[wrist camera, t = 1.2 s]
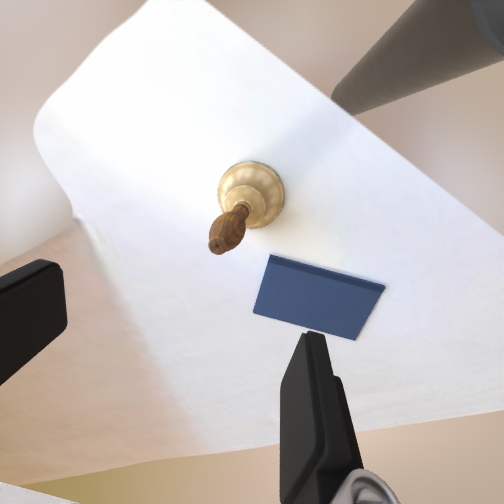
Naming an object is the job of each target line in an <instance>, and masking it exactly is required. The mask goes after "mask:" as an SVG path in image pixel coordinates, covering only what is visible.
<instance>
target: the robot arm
mask: <svg viewBox="0 0 504 504" xmlns="http://www.w3.org/2000/svg"><path fill="white" fill-rule="evenodd" d="M66 327H67V311H66V301H65V290H64V279H63V271H62V269H61V268H60V266H59V264H57V263H55V262H51V261H47V260H43V259H38V260H35V261H33V262H31V263H29V264H27V265H25V266H22V267H20V268H18V269H16V270H14V271H12V272H10V273H8V274H5V275H3V276H1V277H0V386H1V385H2V384H3V383H4V382H5V381H6V380H8V379H9V378H10V377H11V376H12V375H13V374H15V373H16V372H17V371H18V370H19V369H20V368H22V367H23V366H24V365H25V364H26V363H27V362H29V361H30V360H31V359H32V358H33V357H34V356H36V355H37V354H38V353H39V352H40V351H41V350H43V349H44V348H45V347H46V346H47V345H48V344H49V343H51V342H52V341H53V340H54V339H55V338H56V337H58V336H59V335H60V334H61V333H62V332H63V331H64V330H65V329H66ZM280 502H281V504H401V503H400V502H399V500H398V499H397V497H396V495H395V493H394V492H393V491H392V490H391V488H390V487H389V486H388V485H387V483H385V481H383V480H382V479H381V478H380V477H379V476H378V475H376V474H374V473H372V472H370V471H369V470H365V469H364V467H363V463H362V459H361V456H360V451H359V447H358V443H357V439H356V436H355V432H354V428H353V424H352V420H351V416H350V412H349V408H348V404H347V400H346V396H345V392H344V388H343V384H342V381H341V379H340V378H339V377H338V376H334V375H333V370H332V366H331V362H330V357H329V353H328V348H327V344H326V339H325V336H324V335H323V334H320V333H317V332H313V331H308V332H307V334H305V333H302V335H301V337H300V339H299V341H298V344H297V346H296V349H295V351H294V353H293V356H292V358H291V360H290V363H289V365H288V367H287V370H286V372H285V375H284V377H283V379H282V382H281V388H280ZM0 504H80V503H77V502H73V501H69V500H66V499H62V498H58V497H55V496H51V495H47V494H44V493H40V492H36V491H32V490H29V489H25V488H21V487H18V486H14V485H10V484H7V483H3V482H0Z"/></svg>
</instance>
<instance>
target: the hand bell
mask: <svg viewBox="0 0 504 504" xmlns="http://www.w3.org/2000/svg"><path fill="white" fill-rule="evenodd" d="M218 202H219V205H220V208H221V210H222V212H223V213H224V214H222V215H220V216H219V217H218V218H217V219H216V220H215V221H214V222H213V224H212V226H211V228H210V232H209V244H208V246H209V249H210V251H211V252H212V253H214V254H216V255H221V254H223V253H225V252H226V251H229V250H231V249H234V248H235V247H236V246H237V245H239V243H240V242H241V240H242V239H243V237H244V234H245V230H246V228H249V229H254V228H260V227H263V226H266V225H268V224H269V223H271V222H272V221H273V220H274V219H275V218H276V217H277V216H278V215H279V213H280V211H281V209H282V206H283V202H284V189H283V185H282V183H281V181H280V179H279V177H278V176H277V174H276V173H275V172H274V171H273V170H272V169H271V168H269V167H268V166H266V165H264V164H262V163H259V162H254V161H246V162H241V163H238V164H236V165H234V166H232V167H231V168H229V169H228V170H227V171H226V172H225V174H224V175H223V177H222V178H221V180H220V183H219V186H218Z"/></svg>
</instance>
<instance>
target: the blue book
mask: <svg viewBox="0 0 504 504" xmlns="http://www.w3.org/2000/svg"><path fill="white" fill-rule="evenodd" d="M384 289H385V286H384V285H381V284H377V283H373V282H370V281H366V280H362V279H358V278H355V277H351V276H347V275H344V274H340V273H336V272H333V271H329V270H325V269H321V268H318V267H314V266H310V265H307V264H303V263H299V262H296V261H292V260H288V259H284V258H281V257H277V256H273V255H270V257H269V260H268V263H267V267H266V270H265V273H264V277H263V280H262V283H261V287H260V290H259V293H258V297H257V300H256V303H255V307H254V310H253V313H255V314H259V315H262V316H266V317H270V318H273V319H277V320H281V321H284V322H288V323H292V324H295V325H299V326H303V327H306V328H310V329H314V330H317V331H321V332H325V333H328V334H332V335H336V336H339V337H343V338H347V339H350V340H354V341H355V340H356V338H357V336H358V334H359V332H360V331H361V329H362V327H363V325H364V323H365V322H366V320H367V318H368V316H369V315H370V313H371V311H372V309H373V307H374V306H375V304H376V302H377V300H378V298H379V297H380V295H381V293H382V292H383V290H384Z"/></svg>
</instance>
